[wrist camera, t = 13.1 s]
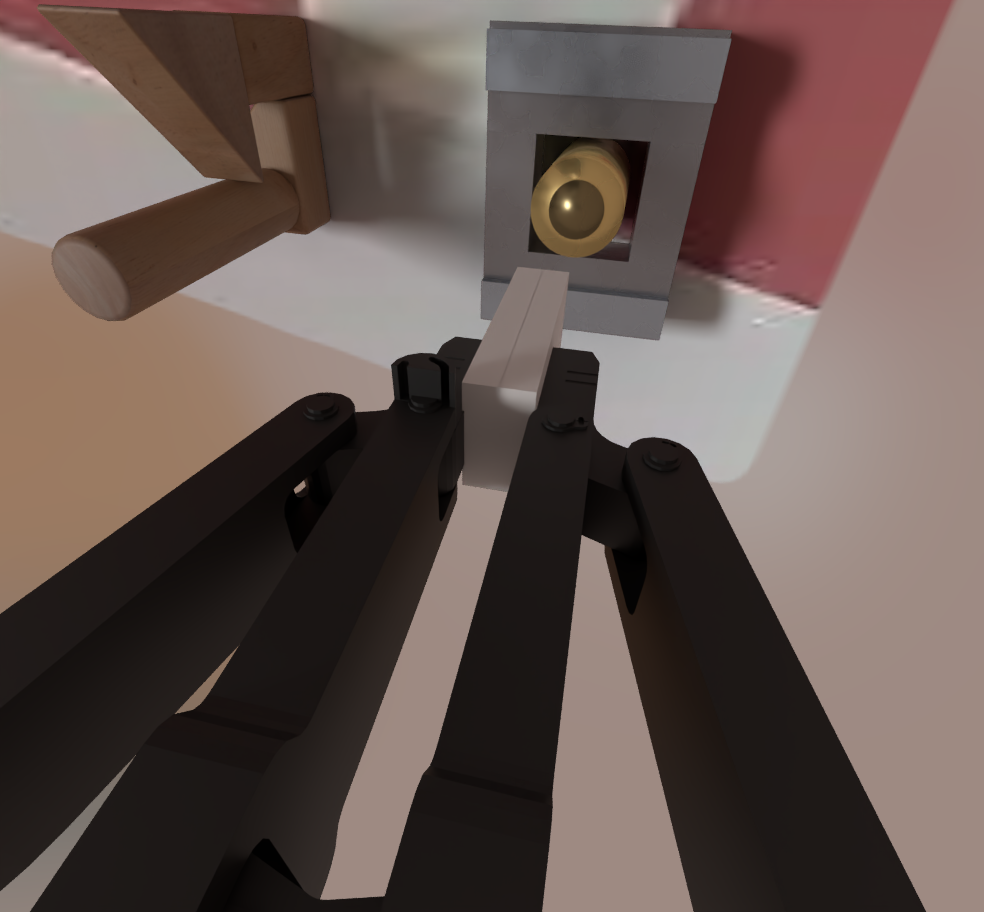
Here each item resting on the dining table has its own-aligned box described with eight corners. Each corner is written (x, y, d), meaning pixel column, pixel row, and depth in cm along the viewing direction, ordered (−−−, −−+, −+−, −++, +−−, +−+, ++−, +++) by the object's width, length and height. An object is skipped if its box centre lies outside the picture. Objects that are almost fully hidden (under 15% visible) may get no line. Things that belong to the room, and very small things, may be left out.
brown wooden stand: (307, 17, 30) (24, 1, 16) (333, 221, 37) (148, 333, 23) (246, 14, 31) (-78, -4, 17) (283, 215, 38) (72, 322, 24)
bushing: (555, 134, 31) (530, 157, 25) (635, 134, 30) (629, 158, 24) (553, 216, 34) (529, 256, 28) (625, 218, 33) (618, 260, 27)
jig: (504, 21, 29) (487, 20, 26) (722, 30, 27) (733, 30, 24) (493, 298, 38) (480, 322, 35) (656, 317, 36) (658, 344, 33)
